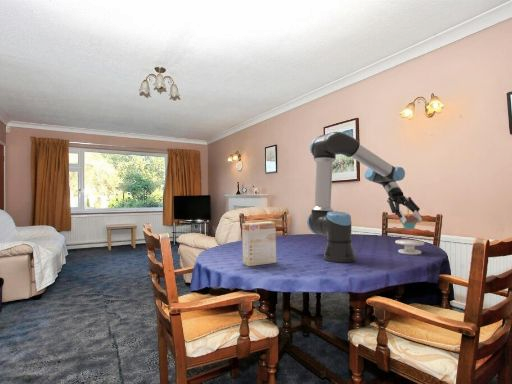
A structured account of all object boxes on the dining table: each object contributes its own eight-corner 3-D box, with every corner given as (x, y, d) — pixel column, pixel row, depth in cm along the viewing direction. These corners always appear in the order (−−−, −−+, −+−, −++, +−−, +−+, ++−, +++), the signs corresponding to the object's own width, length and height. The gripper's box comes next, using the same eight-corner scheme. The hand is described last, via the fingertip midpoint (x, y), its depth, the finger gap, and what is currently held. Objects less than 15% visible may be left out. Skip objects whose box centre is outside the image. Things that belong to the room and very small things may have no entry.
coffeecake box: (269, 260, 150) (269, 221, 151) (276, 263, 144) (276, 222, 144) (242, 263, 144) (241, 222, 144) (248, 266, 138) (247, 224, 138)
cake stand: (396, 254, 160) (396, 243, 160) (394, 249, 173) (394, 239, 173) (426, 256, 154) (426, 244, 154) (422, 251, 167) (422, 240, 168)
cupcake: (417, 230, 157) (416, 207, 157) (399, 229, 162) (398, 206, 162) (418, 228, 164) (418, 206, 164) (401, 227, 169) (400, 206, 169)
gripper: (407, 195, 180) (427, 225, 164) (374, 196, 177) (391, 226, 161) (413, 186, 175) (434, 216, 159) (379, 187, 172) (397, 217, 156)
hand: (412, 221), depth 160 cm, fingers closed on cupcake, 8 cm apart
